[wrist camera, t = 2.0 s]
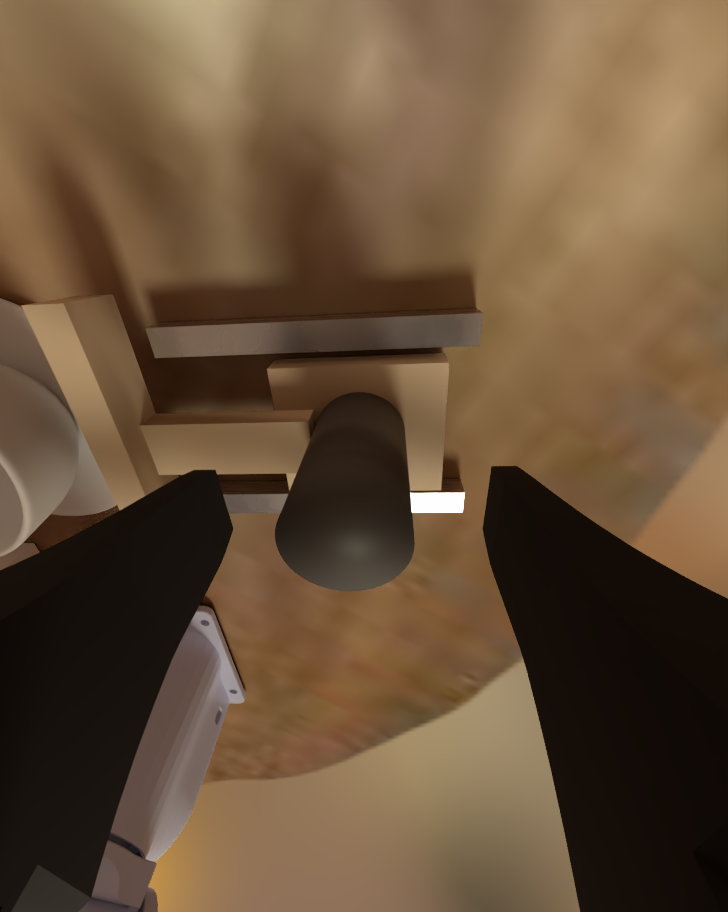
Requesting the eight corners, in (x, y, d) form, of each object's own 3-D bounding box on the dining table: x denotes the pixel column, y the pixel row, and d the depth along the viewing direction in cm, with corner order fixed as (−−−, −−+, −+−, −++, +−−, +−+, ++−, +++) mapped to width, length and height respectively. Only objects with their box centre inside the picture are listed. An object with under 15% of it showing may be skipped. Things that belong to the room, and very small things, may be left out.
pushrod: (435, 520, 17) (460, 672, 11) (187, 521, 17) (85, 661, 12) (448, 273, 12) (509, 303, 6) (102, 292, 13) (-152, 333, 7)
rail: (458, 498, 16) (462, 512, 15) (216, 499, 17) (206, 513, 16) (476, 307, 12) (482, 312, 11) (160, 322, 13) (145, 328, 12)
